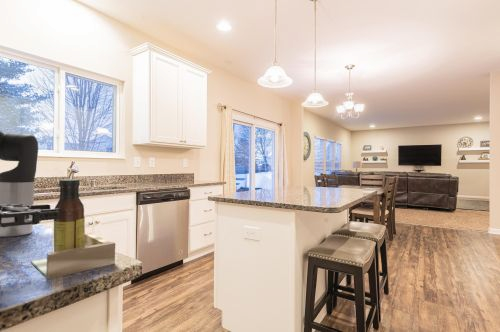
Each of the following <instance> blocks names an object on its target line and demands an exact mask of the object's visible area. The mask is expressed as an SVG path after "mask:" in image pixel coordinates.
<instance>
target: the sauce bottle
mask: <svg viewBox="0 0 500 332" xmlns="http://www.w3.org/2000/svg"><path fill="white" fill-rule="evenodd" d="M80 184H81V183H80V179H78V178H76V179H75V178H72V179H71V178H69V179H65V178H64V179H60V180H59V184H58V185H59V189H60V191H59V200H58V201H57V203H56V205H55V207H54V209H62V218H60V219H54V220H53V252H58V251H64V250H69V249H75V248H81V247H85V234H86V233H85V232H86V231H85V227H86V226H85V225H86V224H85V223H86V222H85V221H86V220H85V208H84V207H85V206H84V204H83V202H82V200H81V199H80V195H79V194H80V193H79V192H80V191H79V186H80Z"/></svg>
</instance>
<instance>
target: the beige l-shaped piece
mask: <svg viewBox="0 0 500 332" xmlns="http://www.w3.org/2000/svg"><path fill="white" fill-rule="evenodd" d="M115 261H116V242H115V241H109V240H106V239H104V238H102V237H100V236H98V235H96V234H93V233H92V232H89V233H85V247H81V248H75V249H69V250H64V251H58V252H54V251H53V252H48V253H47V255H46V257H45V258H40V259H33V260H31V261H30V263H31V264H32V265H33V266H34V267H35V268H36V269H37V270H38V271H39V272H40V273H41V274H42V275H43V276H44V277H45V276H46V277H45V278H46V279H47V280H51V279H55V278H60V277H64V276H69V275H71V274H72V275H73V274H76V273H81V272H84V271H88V270H93V269H96V268H97V269H99V268H103V267H106V266H110V265H113V264H115ZM50 278H51V279H50Z"/></svg>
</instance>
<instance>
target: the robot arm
mask: <svg viewBox="0 0 500 332" xmlns="http://www.w3.org/2000/svg"><path fill="white" fill-rule="evenodd" d="M38 154H39V143H38V140H37V137H36V136H34V135H33V134H30V133H29V134H28V133H16V132H15V133H13V132H11V133H10V132H3V131H1V130H0V160H1V161H4V162H5V161H6V162H17V165H16V167H14V168H12V169H10V170H7V171H6V170H5V171H2V172H0V237H18V236H24V235H28V234H31V233H32V232H33V225H38V224H40V222H42V221H51V220H53V221H54V219H60V218H62V209H55V208H51V205H50V204H47V203H46V204H34V200H35V198H34V197H35V179H36V178H35V177H36V173H37V164H38V163H37V162H38Z"/></svg>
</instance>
